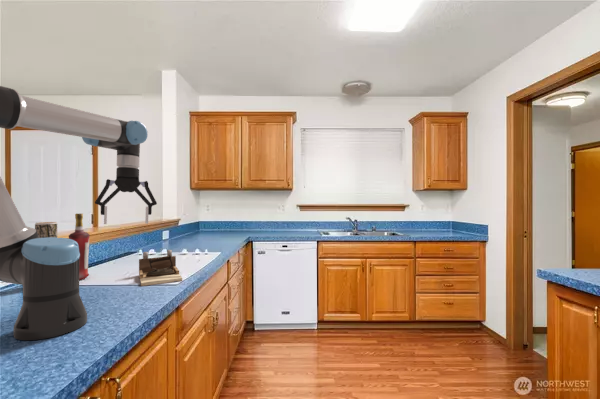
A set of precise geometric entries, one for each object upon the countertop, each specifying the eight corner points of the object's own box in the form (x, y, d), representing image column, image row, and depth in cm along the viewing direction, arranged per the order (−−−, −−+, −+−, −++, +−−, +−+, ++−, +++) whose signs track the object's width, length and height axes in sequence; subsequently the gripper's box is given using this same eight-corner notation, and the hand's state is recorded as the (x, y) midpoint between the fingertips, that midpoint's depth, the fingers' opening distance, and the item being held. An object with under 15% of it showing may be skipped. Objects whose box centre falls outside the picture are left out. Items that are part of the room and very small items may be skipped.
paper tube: (59, 285, 121) (58, 222, 121) (36, 289, 116) (36, 223, 116) (55, 282, 126) (55, 221, 126) (34, 285, 121) (33, 222, 121)
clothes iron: (177, 274, 135) (172, 253, 133) (149, 285, 128) (144, 263, 126) (172, 270, 140) (167, 250, 138) (145, 280, 133) (140, 259, 131)
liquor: (67, 278, 132) (67, 213, 132) (88, 275, 137) (87, 213, 137) (69, 282, 126) (69, 214, 126) (91, 278, 131) (90, 213, 131)
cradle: (182, 280, 128) (182, 256, 128) (141, 286, 120) (141, 260, 120) (175, 270, 145) (175, 249, 145) (139, 275, 138) (138, 252, 138)
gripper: (162, 171, 126) (161, 222, 125) (89, 166, 113) (87, 223, 113) (164, 169, 120) (163, 223, 119) (87, 163, 107) (85, 224, 106)
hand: (126, 223), depth 116 cm, fingers open, 13 cm apart
